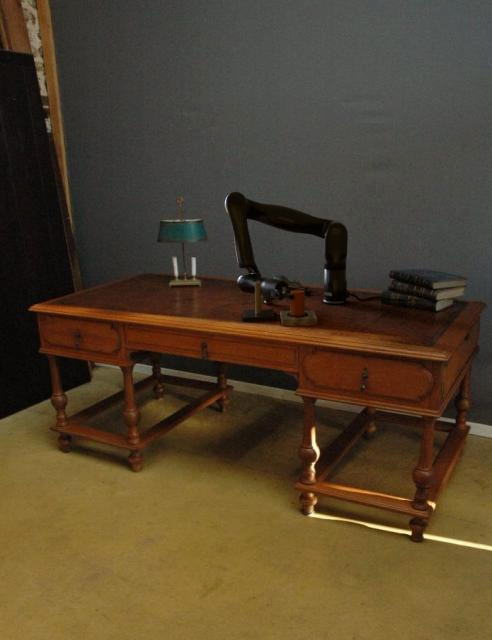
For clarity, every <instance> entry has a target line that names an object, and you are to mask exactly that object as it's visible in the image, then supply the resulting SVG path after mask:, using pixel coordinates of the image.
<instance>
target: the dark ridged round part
mask: <svg viewBox="0 0 492 640" xmlns="http://www.w3.org/2000/svg"><path fill="white" fill-rule="evenodd" d="M261 300H263V302H264V304H265V305H267V306H269V305H270V306H271V305H273V303H274V300H275V299H274V298H270V297H267V296H265V295H262V294H261Z"/></svg>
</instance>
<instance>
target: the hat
mask: <svg viewBox="0 0 492 640" xmlns="http://www.w3.org/2000/svg"><path fill="white" fill-rule="evenodd" d="M290 293H291V294H293V295H294V299H293V300H289V306H290V307H289V311H290V312H289V313H287V316H289V317H305V316H308V313H307V312H305V310H306V296H305V291H303V290H292V291H290ZM301 315H302V316H301Z"/></svg>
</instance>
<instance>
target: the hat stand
mask: <svg viewBox="0 0 492 640" xmlns="http://www.w3.org/2000/svg"><path fill="white" fill-rule="evenodd" d="M254 302H255V303H254V305H255V307H254V308H255V309H242V317H243V318H242V320H243V322H269V321H275V320H276V319H275V313H274V309H273V308H267V309H266V308H265V309H264V308H263V309H262V297H261V283H260V282H256V283H255V293H254Z"/></svg>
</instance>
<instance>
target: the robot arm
mask: <svg viewBox="0 0 492 640" xmlns="http://www.w3.org/2000/svg"><path fill="white" fill-rule="evenodd" d="M224 208H225V211H226V213H227V214H228V217H229V219H230V223H231V227H232V232H233V239H234V247H235V255H236V260H237V264H238V267H239V269H242V270H246V271H247V274H241V275H240V276H239V277H238V278H237V281H236V285H237V287H238V289H239V290H240V291H241V292H243V293H246V294H255V283H256V282H260V283H261V294H262V295H265V296H267V297H270V298H274V300H277V301H283V300H289V301H290V300H293V299H294V295H293V294H291V293H290V291H292V290H303V291H305V297H308V298H310V297H312V291H311V290H310V289H309V288H308V287H307V286H303V285H302V286H298V285H297V286H296V287H292V286H289V285H288V284H287V282H285V281H282V280H278V279H274V277H266V276H262V273H261V272H260V269H259V267H258V265H257V263H256V259H255V254H254V253H255V252H254V248H253V243H252V239H251V235H250V230H249V224H248V220H251V221H254V222H258V223H260V224H263V225H266V226H269V227H272V228H275V229H278V230H281V231H285V232H289V233H295V234H303V235H305V234H306V235H312V236H315V237H318V238H320V239H323V240H324V255H323V299H322V300H323V301H322V302H323V303H324V304H328V305H342V304H347V299H350V297H354V298H355V299H356V300H357V301H359V302H365V301H370V300H377V299H382V297H381V296H382V295H381V296H380V295H379V296H378V295H377V296H376V295H375V296H370V297H365V298H360V297H359V296H358V295H357V294H354V293H351V292H350V291H349V289H348V280H347V260H348V259H347V258H348V244H349V243H348V242H349V233H348V231H349V230H348V228H347V227H346V225H345V224H344V222H342V221H340V220H336V219H328V218H323V217H317V216H314V215H312V214H309V213H307V212H304V211H302V210H298V209H295V208H292V207H288V206H284V205H279V204H271V203H261V202H258V201H255V200H252V199H249V198H247V197H246V195H244V194H243V193H242V192H240V191H232V192H230V193H229V194H228V195H227V196H226V197H225V200H224ZM382 300H383V299H382Z"/></svg>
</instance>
